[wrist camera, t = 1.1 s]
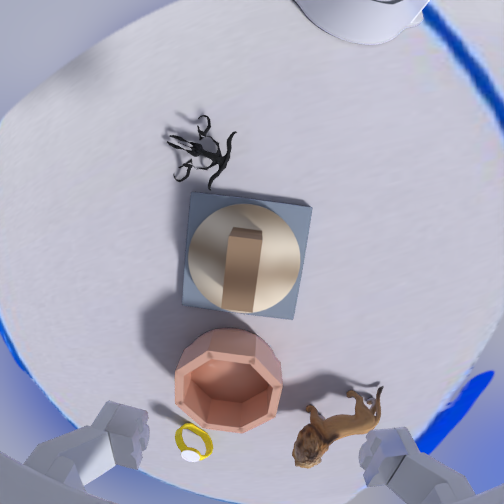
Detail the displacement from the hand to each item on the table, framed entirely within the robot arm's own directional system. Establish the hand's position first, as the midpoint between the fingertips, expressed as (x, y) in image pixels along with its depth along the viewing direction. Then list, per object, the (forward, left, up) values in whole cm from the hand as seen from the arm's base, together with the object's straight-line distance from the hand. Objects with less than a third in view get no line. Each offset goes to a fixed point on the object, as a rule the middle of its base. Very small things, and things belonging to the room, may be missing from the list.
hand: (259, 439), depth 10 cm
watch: (+28, -6, -27) cm, 39 cm away
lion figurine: (+21, +14, -27) cm, 37 cm away
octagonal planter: (+15, -2, -27) cm, 31 cm away
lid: (0, -2, -26) cm, 26 cm away
